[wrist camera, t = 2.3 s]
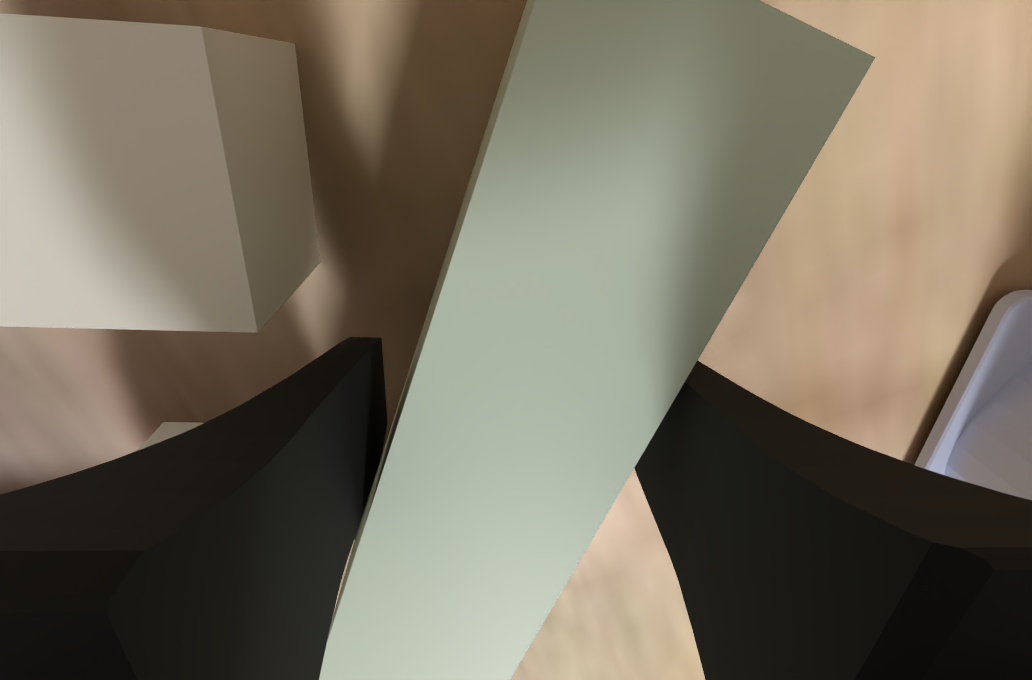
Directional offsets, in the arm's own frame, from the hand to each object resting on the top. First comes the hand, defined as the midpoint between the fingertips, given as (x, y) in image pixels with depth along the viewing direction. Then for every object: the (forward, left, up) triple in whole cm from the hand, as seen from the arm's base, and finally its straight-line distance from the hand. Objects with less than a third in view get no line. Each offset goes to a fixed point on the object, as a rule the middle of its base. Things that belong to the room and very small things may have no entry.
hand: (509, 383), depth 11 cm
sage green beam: (0, 0, -2) cm, 2 cm away
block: (+6, -4, -2) cm, 7 cm away
